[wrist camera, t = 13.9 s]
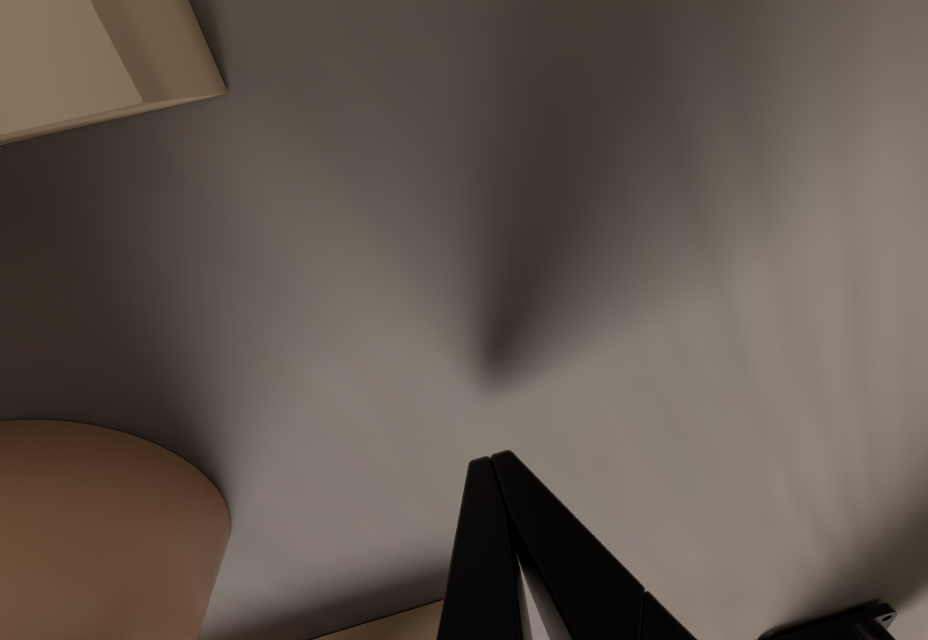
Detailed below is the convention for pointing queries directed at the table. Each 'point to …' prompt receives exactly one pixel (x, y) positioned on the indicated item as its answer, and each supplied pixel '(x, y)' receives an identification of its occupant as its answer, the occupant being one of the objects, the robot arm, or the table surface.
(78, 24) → the lane
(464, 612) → the robot arm
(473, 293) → the table surface
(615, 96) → the table surface
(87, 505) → the jar
